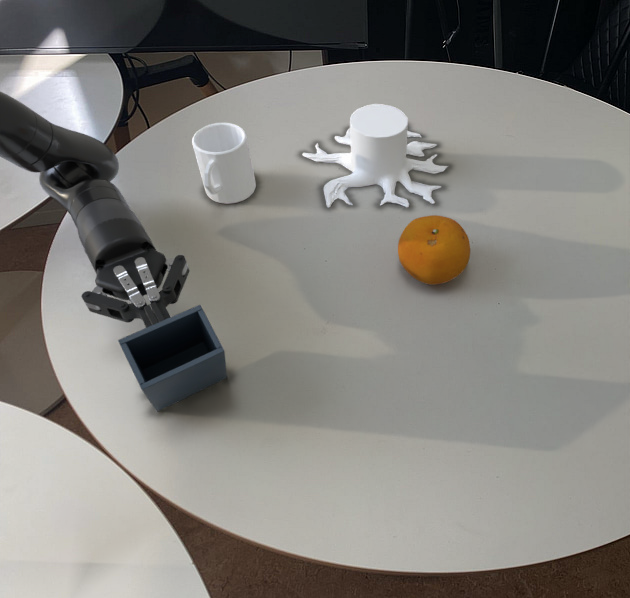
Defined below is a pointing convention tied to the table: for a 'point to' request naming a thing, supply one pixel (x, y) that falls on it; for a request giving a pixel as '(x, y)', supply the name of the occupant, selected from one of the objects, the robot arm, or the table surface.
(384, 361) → the table surface
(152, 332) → the bin
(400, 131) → the white tree stump
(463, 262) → the fruit
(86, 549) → the table surface
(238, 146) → the mug
